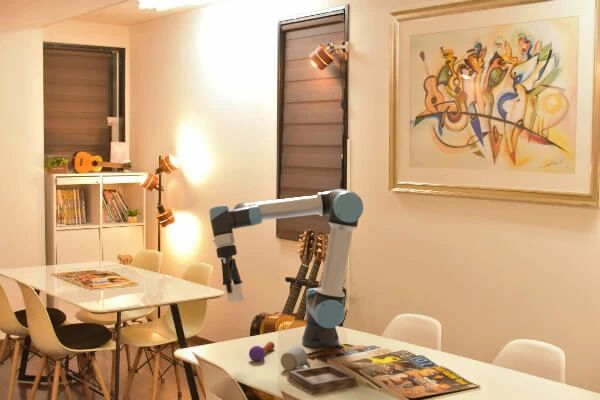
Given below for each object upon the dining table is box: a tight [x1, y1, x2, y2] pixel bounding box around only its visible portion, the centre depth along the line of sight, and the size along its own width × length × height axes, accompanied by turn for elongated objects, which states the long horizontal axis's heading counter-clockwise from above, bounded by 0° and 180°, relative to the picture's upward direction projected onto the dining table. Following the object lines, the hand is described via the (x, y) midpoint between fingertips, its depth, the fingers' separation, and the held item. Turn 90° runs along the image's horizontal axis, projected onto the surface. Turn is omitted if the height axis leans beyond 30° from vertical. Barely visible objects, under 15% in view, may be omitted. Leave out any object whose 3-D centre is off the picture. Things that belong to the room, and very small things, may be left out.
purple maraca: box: [248, 341, 275, 362], centre depth 323 cm, size 6×6×20 cm
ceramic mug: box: [280, 346, 312, 372], centre depth 304 cm, size 11×8×8 cm
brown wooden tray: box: [286, 364, 359, 395], centre depth 288 cm, size 18×18×3 cm
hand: (236, 301), depth 312 cm, fingers open, 13 cm apart
